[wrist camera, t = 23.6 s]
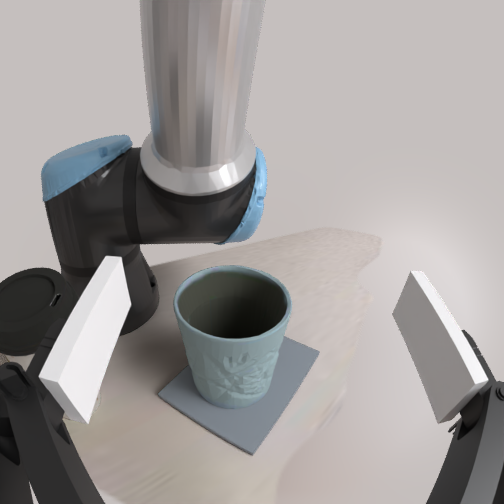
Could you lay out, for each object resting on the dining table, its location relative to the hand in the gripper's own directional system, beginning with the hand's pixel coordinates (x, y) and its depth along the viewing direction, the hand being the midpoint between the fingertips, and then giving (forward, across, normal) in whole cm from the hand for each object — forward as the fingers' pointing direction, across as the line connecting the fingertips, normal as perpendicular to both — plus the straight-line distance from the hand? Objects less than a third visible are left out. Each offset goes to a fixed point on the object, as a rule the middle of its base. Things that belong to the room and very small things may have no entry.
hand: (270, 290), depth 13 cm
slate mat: (+10, 0, -22) cm, 24 cm away
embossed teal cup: (+10, -2, -21) cm, 23 cm away
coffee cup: (+4, -19, -22) cm, 29 cm away
